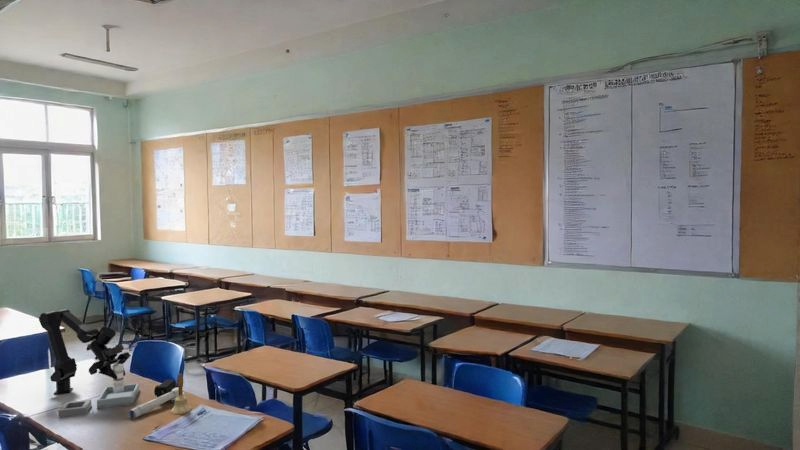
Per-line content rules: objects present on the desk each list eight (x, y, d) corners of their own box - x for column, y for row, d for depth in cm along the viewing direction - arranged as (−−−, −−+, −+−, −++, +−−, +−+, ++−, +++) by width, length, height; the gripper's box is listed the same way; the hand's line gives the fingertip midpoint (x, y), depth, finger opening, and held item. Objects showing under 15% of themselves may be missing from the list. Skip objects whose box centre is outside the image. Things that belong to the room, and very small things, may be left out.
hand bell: (183, 414, 217) (183, 377, 216) (166, 413, 219) (165, 376, 218) (195, 407, 225) (194, 371, 224) (178, 406, 227) (177, 370, 226)
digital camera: (164, 394, 241) (163, 379, 241) (175, 393, 242) (175, 379, 241) (154, 402, 231) (153, 387, 231) (166, 402, 231) (166, 387, 231)
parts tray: (105, 394, 241) (105, 386, 241) (138, 390, 246) (138, 383, 246) (97, 408, 224) (96, 400, 224) (132, 404, 229) (132, 396, 229)
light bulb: (111, 391, 235) (111, 365, 234) (121, 388, 238) (121, 363, 238) (115, 393, 232) (115, 367, 232) (125, 391, 235) (125, 365, 235)
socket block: (65, 409, 224) (65, 402, 224) (91, 406, 227) (91, 399, 227) (58, 417, 215) (58, 410, 214) (85, 414, 218) (85, 407, 218)
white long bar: (126, 408, 214) (177, 382, 236) (129, 423, 215) (180, 396, 237) (134, 411, 212) (185, 384, 233) (137, 426, 213) (187, 398, 234)
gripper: (92, 345, 227) (113, 372, 224) (126, 335, 244) (146, 359, 241) (79, 361, 229) (99, 388, 226) (114, 350, 247) (133, 374, 244)
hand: (120, 377), depth 234 cm, fingers closed on light bulb, 4 cm apart
